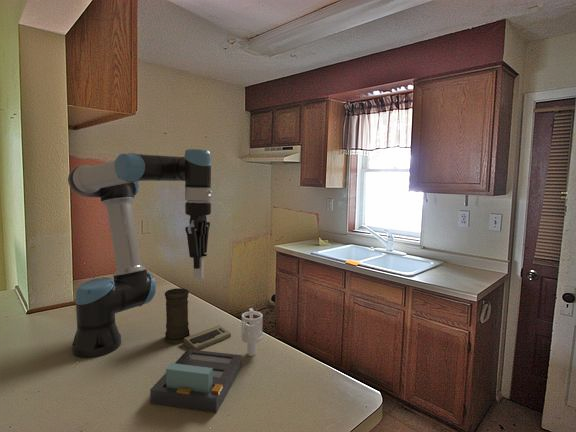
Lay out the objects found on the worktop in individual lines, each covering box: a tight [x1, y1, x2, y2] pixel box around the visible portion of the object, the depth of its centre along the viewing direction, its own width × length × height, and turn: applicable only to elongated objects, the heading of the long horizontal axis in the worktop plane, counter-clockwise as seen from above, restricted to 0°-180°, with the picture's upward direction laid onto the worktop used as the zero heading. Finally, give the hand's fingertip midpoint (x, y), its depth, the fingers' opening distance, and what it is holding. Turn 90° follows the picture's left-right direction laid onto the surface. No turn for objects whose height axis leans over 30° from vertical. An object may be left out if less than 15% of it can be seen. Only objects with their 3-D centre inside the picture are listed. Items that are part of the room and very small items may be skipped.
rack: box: [149, 348, 243, 414], centre depth 102 cm, size 18×22×5 cm
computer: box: [182, 324, 232, 351], centre depth 129 cm, size 16×8×3 cm, turn 137°
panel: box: [165, 362, 213, 394], centre depth 95 cm, size 12×3×8 cm, turn 80°
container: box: [164, 288, 191, 345], centre depth 129 cm, size 9×9×18 cm
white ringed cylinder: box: [241, 307, 264, 357], centre depth 120 cm, size 7×7×15 cm
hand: (198, 277), depth 107 cm, fingers closed
